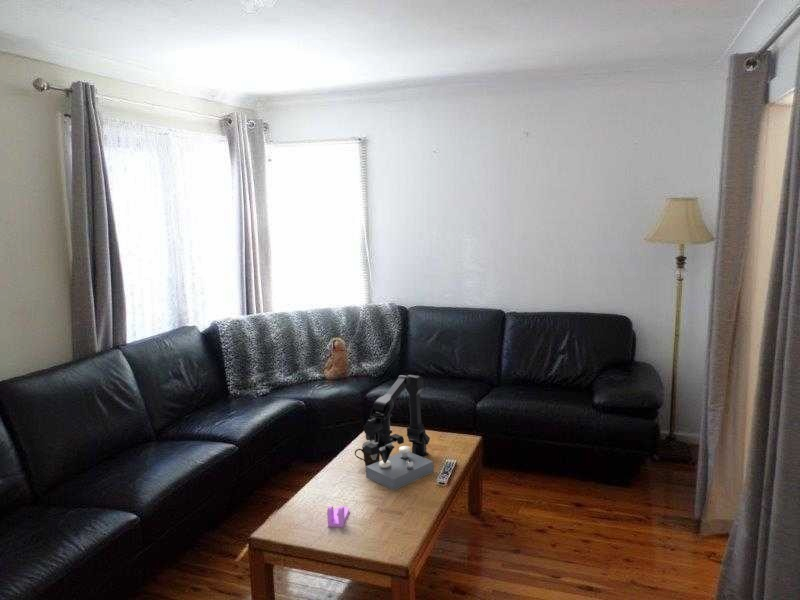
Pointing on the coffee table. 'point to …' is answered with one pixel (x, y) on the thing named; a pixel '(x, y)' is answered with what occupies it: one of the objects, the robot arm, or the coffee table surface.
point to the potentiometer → (409, 465)
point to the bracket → (337, 516)
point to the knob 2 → (404, 451)
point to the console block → (399, 471)
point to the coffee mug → (368, 457)
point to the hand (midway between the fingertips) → (384, 462)
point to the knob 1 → (384, 464)
